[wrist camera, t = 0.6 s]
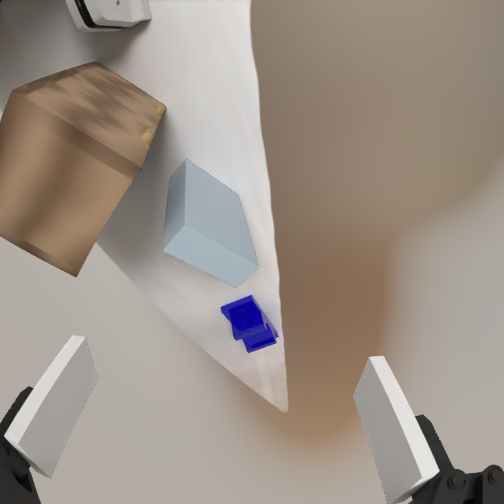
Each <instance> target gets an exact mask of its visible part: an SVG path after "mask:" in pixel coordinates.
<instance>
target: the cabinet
mask: <svg viewBox="0 0 504 504" xmlns="http://www.w3.org/2000/svg"><path fill="white" fill-rule="evenodd" d="M165 108H166V106H165V105H164V104H162V103H161V102H159V101H158V100H156V99H155V98H153V97H152V96H150V95H149V94H147V93H146V92H144V91H143V90H141V89H139V88H138V87H136V86H135V85H133V84H132V83H130V82H129V81H127V80H125V79H124V78H122V77H121V76H119V75H117V74H116V73H114V72H113V71H111V70H109V69H108V68H106V67H104V66H103V65H101V64H99V63H98V62H92V63H88V64H84V65H81V66H77V67H74V68H71V69H67V70H64V71H61V72H58V73H55V74H52V75H49V76H46V77H44V78H41V79H38V80H36V81H33V82H31V83H28V84H26V85H23V86H21V87H19V88H16V89H14V90H12V92H11V95H10V97H9V100H8V102H7V105H6V107H5V110H4V113H3V115H2V118H1V121H0V236H1V237H3V238H4V239H6V240H8V241H9V242H11V243H13V244H14V245H16V246H18V247H20V248H21V249H23V250H25V251H27V252H29V253H30V254H32V255H34V256H36V257H38V258H40V259H42V260H43V261H45V262H47V263H49V264H51V265H53V266H55V267H57V268H59V269H60V270H62V271H64V272H67V273H69V274H70V275H72V276H75V277H77V275H78V273H79V271H80V269H81V268H82V265H83V264H84V262H85V260H86V258H87V256H88V254H89V252H90V250H91V249H92V247H93V245H94V243H95V242H96V240H97V238H98V236H99V235H100V233H101V231H102V229H103V228H104V226H105V224H106V223H107V221H108V219H109V218H110V216H111V214H112V213H113V211H114V209H115V208H116V206H117V205H118V203H119V202H120V200H121V198H122V197H123V195H124V194H125V192H126V191H127V189H128V188H129V186H130V185H131V183H132V182H133V180H134V179H135V177H136V176H137V174H138V173H139V172H140V170H141V169H142V167H143V164H144V161H145V158H146V155H147V153H148V150H149V147H150V145H151V142H152V140H153V137H154V135H155V132H156V129H157V127H158V124H159V122H160V119H161V117H162V115H163V113H164V110H165Z"/></svg>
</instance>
